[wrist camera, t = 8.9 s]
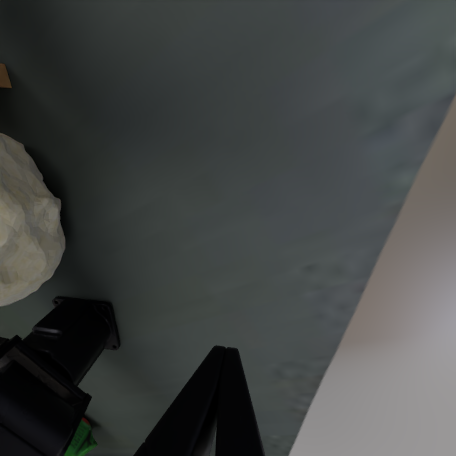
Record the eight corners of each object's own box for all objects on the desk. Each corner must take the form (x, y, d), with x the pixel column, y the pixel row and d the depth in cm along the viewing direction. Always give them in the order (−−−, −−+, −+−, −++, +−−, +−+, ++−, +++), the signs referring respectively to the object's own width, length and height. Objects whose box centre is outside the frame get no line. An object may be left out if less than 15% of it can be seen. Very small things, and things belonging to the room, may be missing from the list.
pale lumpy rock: (80, 275, 27) (91, 290, 14) (-8, 302, 23) (-99, 354, 10) (41, 141, 26) (16, 34, 14) (-57, 143, 22) (-217, -4, 10)
